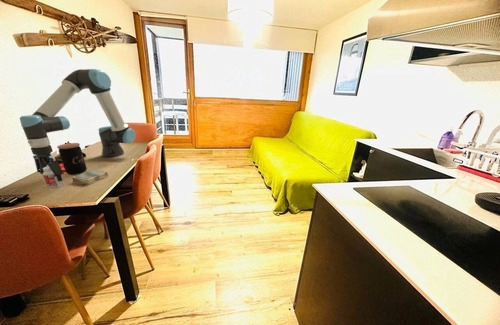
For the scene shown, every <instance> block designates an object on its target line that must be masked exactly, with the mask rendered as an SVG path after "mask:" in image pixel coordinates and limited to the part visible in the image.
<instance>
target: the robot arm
mask: <svg viewBox="0 0 500 325" xmlns="http://www.w3.org/2000/svg"><path fill="white" fill-rule="evenodd" d="M111 86H112V80H111V78H110V76H109V75H108V74H107V72H105V71H103V70H102V69H95V68H92V69H91V68H88V69H87V68H86V69H85V68H84V69H82V68H81V69H77V70H74V71H72V72H70V73H69V74H68V75H67V76H66V77H65V78H64V79H62V80H61V85H60V86H59V87H58V88H57V89H55V91H54V92H53V93H52V94H51V95H50V96H49V97H48V98H47V99H46V100H45V101H44V102H43V104H41V105H40V106H39V107H38V108H37V109H36V111H35V112H33V113H32V114H31V115H30V114H29V115H22V116H20V117H19V122H20V124H21V127H22V129H23V132H24V135H25V137H26V139H27V143H28V144H29V147H30V150H31V154H32V158H33V159H34V164H35V167H36V172H37V173H39V174H41V176H42V179H43V181H44V182H43V183H44V184H45V186H47V184H46V182H45V179H44V176H43V172H44V171H43V168H44V167H47V166H49V168H50V169H51V170H52V172H53V173H54V178H55V180H56V183H57V186H58V187H57V188H60V187H63V186H65V183H64V180H63V178H62V177H63V176H62V175H63V174H64V171H63V169H62V167H61V165H60V163H59V161H58V158H57V156H53V155H52V154H51V153H52V152H53V148H52V145H51V141H50V139H49V136H48V133H53V132H59V131H65V130H68V129H69V128H70V125H71V123H70V120H69V119H68V118H67V117H65V116H59V115H58V113H60V111H61V110H62V109H63V108H64V107H65V106H66V104H68V103H69V101H70V100H71V99H72V98H73V97H74V96H75V95H76V94H79V93H81V91H83V90H87V89H88V90H89V92H90V94H91V95H94V96H95V98H96V99H97V101H98V103H99V105H100V107H101V109H102V110H103V112H104V114H105V116H106V118H107V120H108V122H109V124H110V125H108V126H103V127H99V128H98V135H99V139H100V142H101V146H102V149H101V157H102V158H115V157H120V156H123V155H124V154H125V152H124V151H125V150H124V149H123V147H122V146H121V144H132V143H133V142H134V141H135V139H136V131H135V130H134V129H133V128H132V127H131V128H130V127H129V125H128V123H126V122H125V121H124V120H123V117H122V115H121V112H120V111H119V108H118V107H117V105H116V103H115V100H114V98H113V96H112V95H111V93H110V91H111V89H112V88H111ZM56 115H57V116H56Z"/></svg>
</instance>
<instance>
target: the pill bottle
mask: <svg viewBox="0 0 500 325" xmlns="http://www.w3.org/2000/svg"><path fill="white" fill-rule="evenodd" d="M43 171H44V172H43V176H44V179H45V182H46V184H47V185H46V184H45V185H46V187H47V188H48V189H53V188H59V187H58V186H57V183H56V180H55V178H54V173H53V172H52V170H51V169H50V168H49V166H48V165H47V167H44V168H43ZM43 176H42V177H43ZM44 179H43V180H44ZM45 182H44V183H45Z"/></svg>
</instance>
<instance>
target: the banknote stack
mask: <svg viewBox="0 0 500 325" xmlns="http://www.w3.org/2000/svg"><path fill="white" fill-rule="evenodd" d="M108 177H109V173H108V171H102V170H96V169H92V170H88V171H85V172H83V173H79V174H76V175H73V176H71V179H72V182H73V183H76V184H82V185H87V186H90V185H92V184H94V183H97V182H99V181H101V180H104V179H106V178H108Z"/></svg>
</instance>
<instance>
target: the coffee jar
mask: <svg viewBox="0 0 500 325" xmlns="http://www.w3.org/2000/svg"><path fill="white" fill-rule="evenodd" d="M57 149H58V154H59V157H60V159H61V163H62V165H63V169H64V171H65V173H66V174H67V175H71V176H72V175H73V176H75V175H80V174H82V173H85V172H87V170H88V168H87V165H86V160H85V158H84V155H83V152H82V151H83V150H82V148H81V146H80V143H78V142H70V143H64V144H63V143H62V144H59V145H57Z"/></svg>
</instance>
